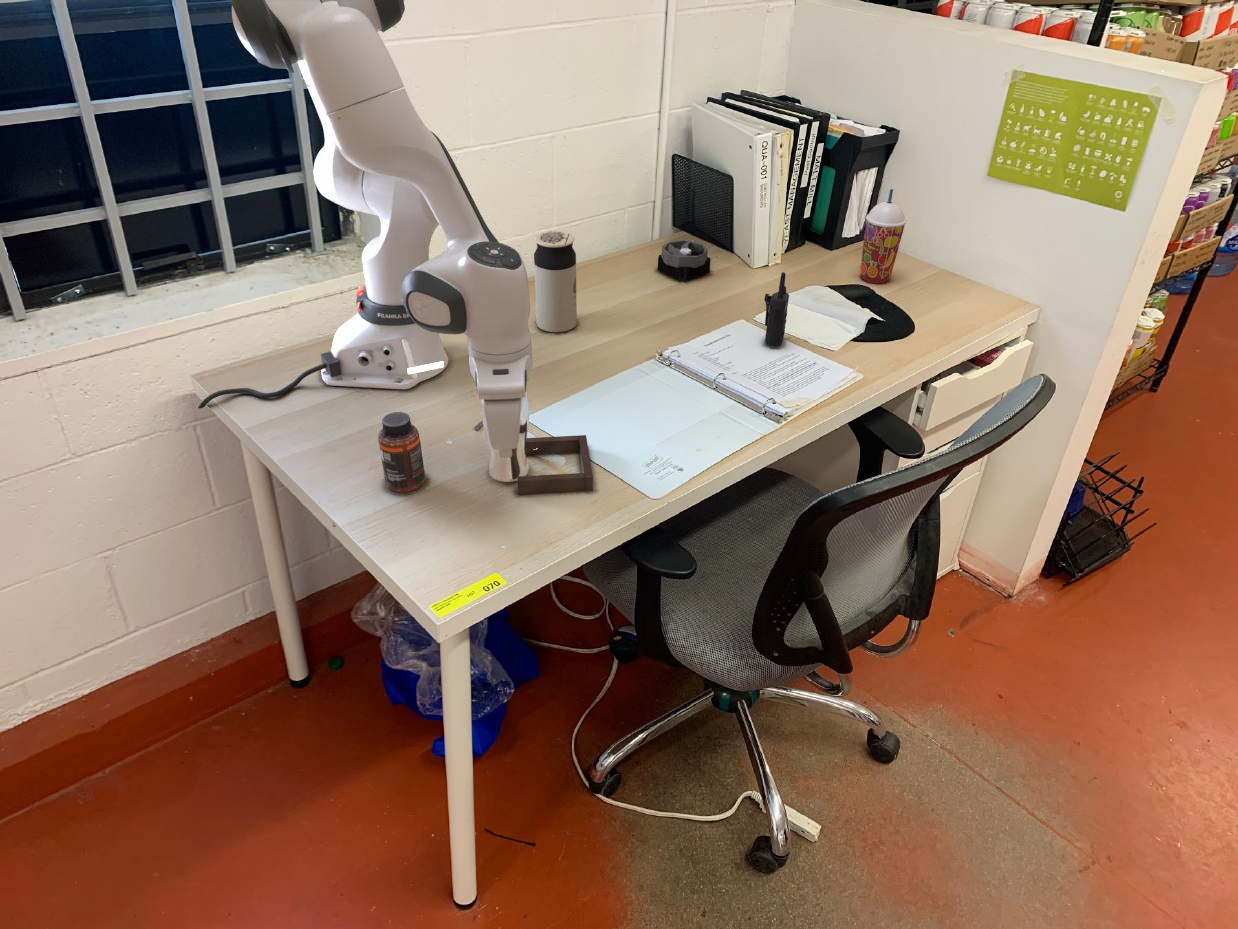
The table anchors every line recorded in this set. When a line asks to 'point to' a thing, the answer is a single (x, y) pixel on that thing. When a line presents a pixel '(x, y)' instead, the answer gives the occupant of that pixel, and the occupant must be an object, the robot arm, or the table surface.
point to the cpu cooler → (684, 260)
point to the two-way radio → (776, 314)
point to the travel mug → (555, 281)
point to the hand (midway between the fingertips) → (505, 440)
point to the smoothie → (881, 240)
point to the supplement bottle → (401, 453)
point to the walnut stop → (558, 480)
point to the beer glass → (517, 462)
